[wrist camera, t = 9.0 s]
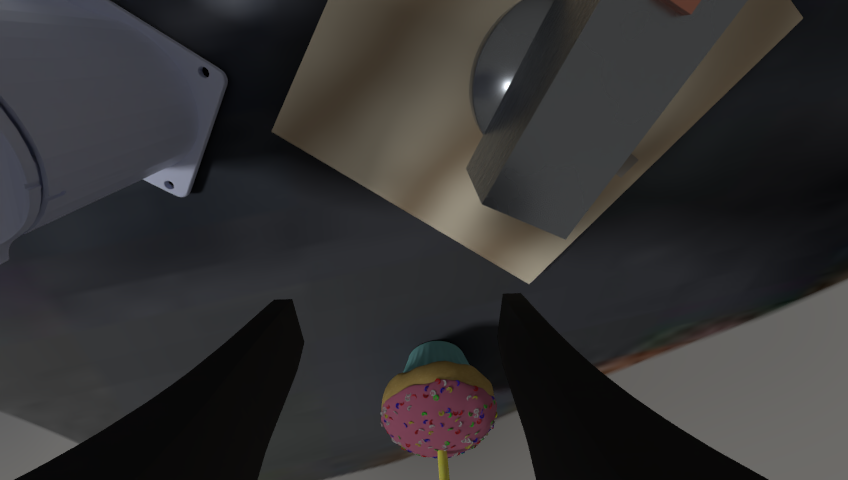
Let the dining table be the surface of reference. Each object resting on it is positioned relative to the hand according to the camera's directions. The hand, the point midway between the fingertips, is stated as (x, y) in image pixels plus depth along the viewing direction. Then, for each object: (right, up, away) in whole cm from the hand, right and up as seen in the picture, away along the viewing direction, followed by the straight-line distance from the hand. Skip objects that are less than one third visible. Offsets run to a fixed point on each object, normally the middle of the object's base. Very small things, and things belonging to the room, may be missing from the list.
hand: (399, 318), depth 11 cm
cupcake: (+2, -7, +17) cm, 18 cm away
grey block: (+6, +9, +1) cm, 11 cm away
